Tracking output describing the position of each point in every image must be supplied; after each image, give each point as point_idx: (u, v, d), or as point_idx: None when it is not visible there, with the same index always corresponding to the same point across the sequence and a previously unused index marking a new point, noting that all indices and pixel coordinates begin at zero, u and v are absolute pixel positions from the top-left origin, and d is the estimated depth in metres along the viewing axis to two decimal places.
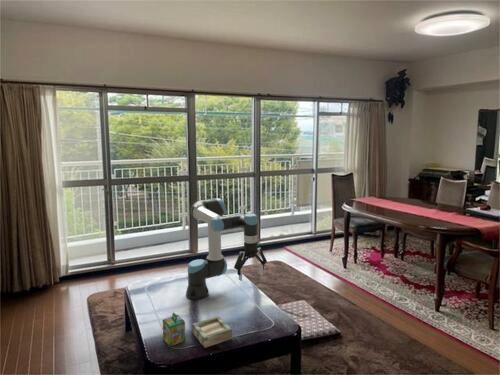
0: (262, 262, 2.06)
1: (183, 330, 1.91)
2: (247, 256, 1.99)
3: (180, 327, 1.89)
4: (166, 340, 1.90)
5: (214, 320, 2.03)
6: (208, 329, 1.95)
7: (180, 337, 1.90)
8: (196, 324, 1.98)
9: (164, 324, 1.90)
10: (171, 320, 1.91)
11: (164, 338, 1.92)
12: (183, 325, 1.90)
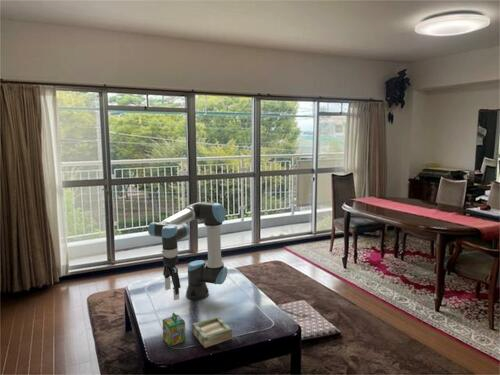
0: (173, 285, 1.81)
1: (183, 330, 1.91)
2: (166, 268, 1.88)
3: (180, 327, 1.89)
4: (166, 340, 1.90)
5: (214, 320, 2.03)
6: (208, 329, 1.95)
7: (180, 337, 1.90)
8: (196, 324, 1.98)
9: (164, 324, 1.90)
10: (171, 320, 1.91)
11: (164, 338, 1.92)
12: (183, 325, 1.90)
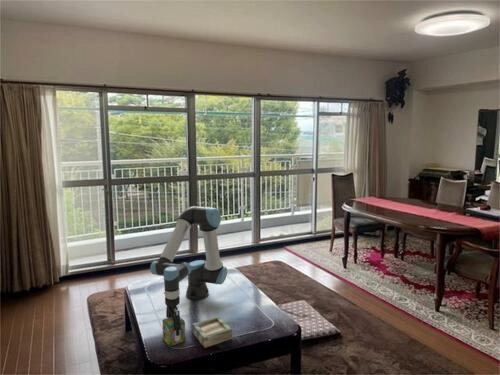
0: None
1: (183, 330, 1.91)
2: (168, 309, 1.92)
3: None
4: (166, 340, 1.90)
5: (214, 320, 2.03)
6: (208, 329, 1.95)
7: (180, 337, 1.90)
8: (196, 324, 1.98)
9: (164, 324, 1.90)
10: (171, 320, 1.91)
11: (164, 338, 1.92)
12: (183, 325, 1.90)
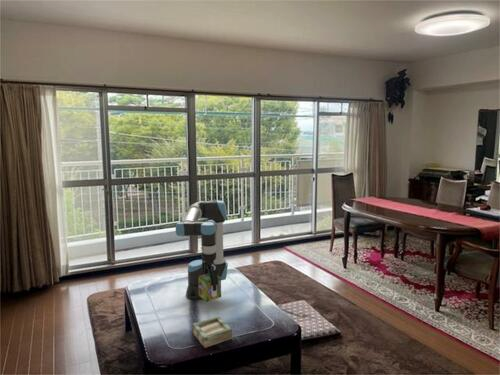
0: (211, 282, 1.86)
1: (219, 286, 1.90)
2: (204, 265, 1.91)
3: None
4: (202, 296, 1.90)
5: (214, 320, 2.03)
6: (208, 329, 1.95)
7: None
8: (196, 324, 1.98)
9: (200, 280, 1.90)
10: (207, 276, 1.91)
11: (200, 294, 1.92)
12: (219, 281, 1.90)
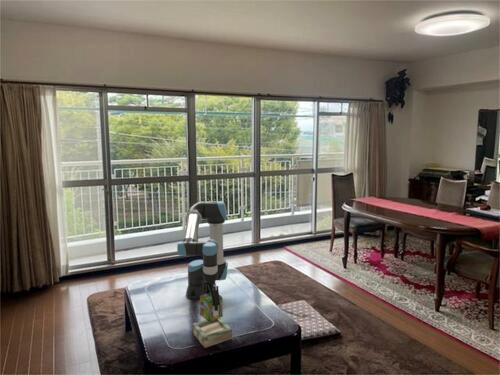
0: (213, 302, 1.88)
1: (221, 306, 1.92)
2: (206, 285, 1.93)
3: None
4: (204, 316, 1.92)
5: (214, 320, 2.03)
6: (208, 329, 1.95)
7: None
8: (196, 324, 1.98)
9: (202, 300, 1.92)
10: (209, 296, 1.93)
11: (202, 314, 1.94)
12: (221, 301, 1.92)
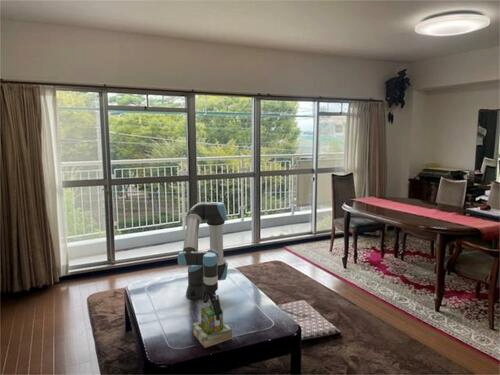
0: (215, 312, 1.87)
1: (221, 319, 1.93)
2: (206, 294, 1.95)
3: None
4: (204, 329, 1.93)
5: None
6: None
7: (218, 326, 1.93)
8: (196, 324, 1.98)
9: (202, 313, 1.93)
10: (209, 309, 1.94)
11: (202, 327, 1.95)
12: (221, 314, 1.93)
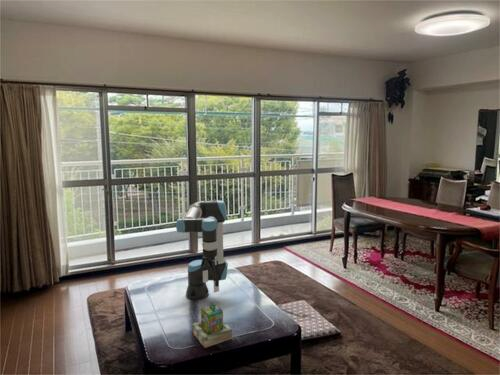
0: (214, 277, 1.84)
1: (221, 319, 1.93)
2: (205, 260, 1.91)
3: (218, 316, 1.92)
4: (204, 329, 1.93)
5: None
6: None
7: (218, 326, 1.93)
8: (196, 324, 1.98)
9: (202, 313, 1.93)
10: (209, 309, 1.94)
11: (202, 327, 1.95)
12: (221, 314, 1.93)
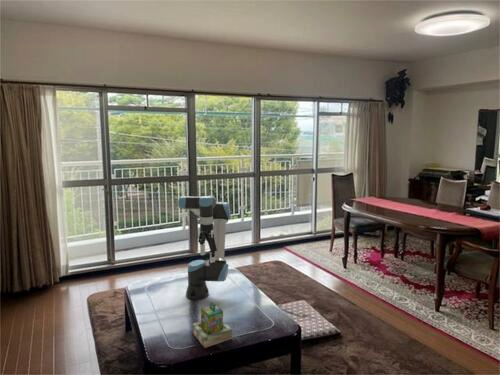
0: (210, 249, 2.02)
1: (221, 319, 1.93)
2: (202, 235, 2.10)
3: (218, 316, 1.92)
4: (204, 329, 1.93)
5: None
6: None
7: (218, 326, 1.93)
8: (196, 324, 1.98)
9: (202, 313, 1.93)
10: (209, 309, 1.94)
11: (202, 327, 1.95)
12: (221, 314, 1.93)
